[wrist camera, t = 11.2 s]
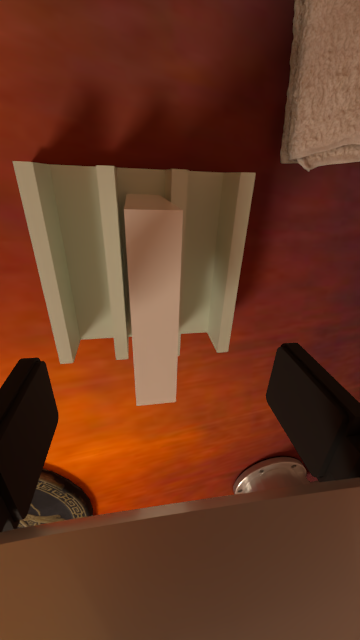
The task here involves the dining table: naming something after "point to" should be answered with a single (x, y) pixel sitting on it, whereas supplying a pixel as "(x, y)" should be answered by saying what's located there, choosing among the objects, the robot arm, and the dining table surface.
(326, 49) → the washcloth
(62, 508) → the decorative plate
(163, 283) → the tall tan prism
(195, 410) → the dining table surface
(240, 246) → the dish rack
